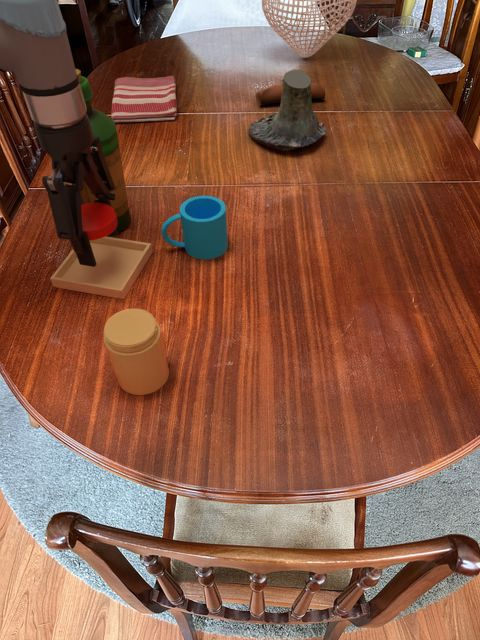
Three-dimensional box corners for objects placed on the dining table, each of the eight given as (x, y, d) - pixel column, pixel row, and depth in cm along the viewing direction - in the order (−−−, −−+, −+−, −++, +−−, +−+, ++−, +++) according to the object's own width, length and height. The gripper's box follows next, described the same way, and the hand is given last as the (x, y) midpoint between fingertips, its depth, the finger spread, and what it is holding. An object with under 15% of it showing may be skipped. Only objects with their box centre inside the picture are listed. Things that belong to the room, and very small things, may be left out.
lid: (114, 239, 82) (112, 230, 80) (63, 241, 81) (59, 232, 80) (120, 210, 87) (118, 201, 86) (72, 212, 87) (69, 203, 85)
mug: (224, 230, 99) (221, 193, 93) (231, 256, 94) (229, 218, 88) (162, 238, 97) (156, 200, 91) (166, 264, 92) (159, 227, 86)
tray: (53, 287, 88) (49, 278, 87) (87, 241, 97) (85, 233, 95) (124, 299, 86) (121, 290, 85) (152, 252, 95) (151, 243, 93)
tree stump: (305, 114, 133) (321, 46, 118) (332, 167, 125) (353, 102, 109) (239, 120, 129) (246, 50, 113) (262, 176, 120) (273, 109, 105)
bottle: (112, 246, 96) (71, 92, 74) (70, 229, 99) (19, 77, 78) (148, 217, 102) (119, 67, 80) (107, 202, 105) (69, 55, 84)
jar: (109, 389, 74) (90, 341, 66) (129, 351, 79) (115, 302, 71) (158, 399, 73) (145, 352, 65) (176, 360, 77) (166, 311, 69)
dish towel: (175, 83, 145) (174, 73, 143) (178, 120, 129) (176, 110, 127) (115, 86, 143) (113, 76, 141) (110, 124, 128) (108, 114, 126)
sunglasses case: (315, 87, 142) (321, 70, 136) (321, 109, 141) (327, 93, 135) (253, 93, 139) (256, 76, 133) (258, 116, 138) (261, 100, 132)
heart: (340, 45, 165) (350, -39, 149) (356, 63, 155) (368, -25, 139) (256, 51, 161) (256, -35, 144) (267, 70, 151) (268, -20, 135)
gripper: (70, 84, 78) (105, 211, 95) (-7, 150, 65) (49, 284, 82) (116, 89, 77) (143, 217, 94) (46, 157, 63) (92, 291, 81)
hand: (99, 248), depth 88 cm, fingers closed on lid, 8 cm apart
